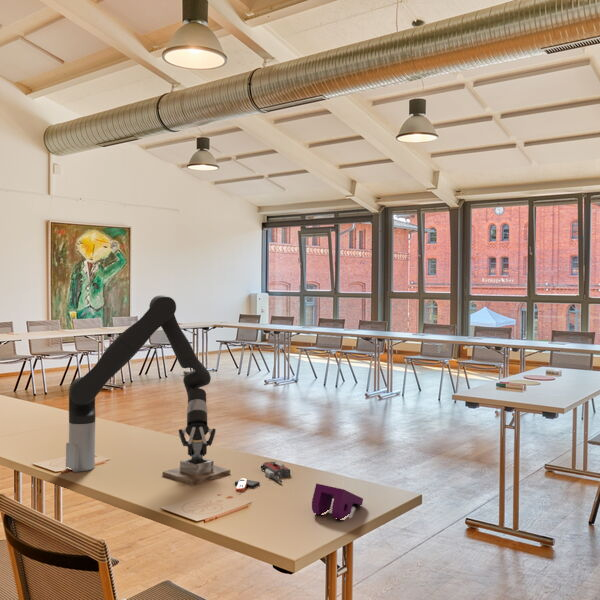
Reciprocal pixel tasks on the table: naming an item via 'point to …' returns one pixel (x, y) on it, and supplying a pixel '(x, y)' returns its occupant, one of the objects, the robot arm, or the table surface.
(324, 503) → the mounting bracket
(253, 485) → the multimeter
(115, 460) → the table surface
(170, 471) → the dock board
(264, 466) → the walkie-talkie
